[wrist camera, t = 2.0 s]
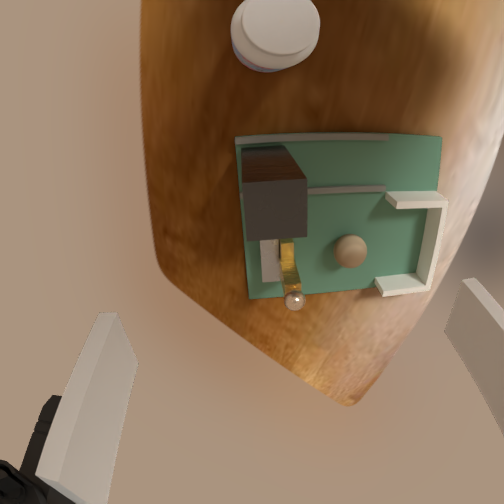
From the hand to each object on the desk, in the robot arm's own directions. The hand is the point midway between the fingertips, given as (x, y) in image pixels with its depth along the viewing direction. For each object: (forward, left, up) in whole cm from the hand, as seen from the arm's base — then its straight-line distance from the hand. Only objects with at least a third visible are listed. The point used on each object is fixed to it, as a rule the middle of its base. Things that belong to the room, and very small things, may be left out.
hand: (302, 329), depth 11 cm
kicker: (+5, 0, -21) cm, 22 cm away
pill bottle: (-12, +1, -23) cm, 26 cm away
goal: (+9, +16, -22) cm, 29 cm away
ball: (+9, +9, -20) cm, 24 cm away
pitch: (+6, +9, -22) cm, 25 cm away
